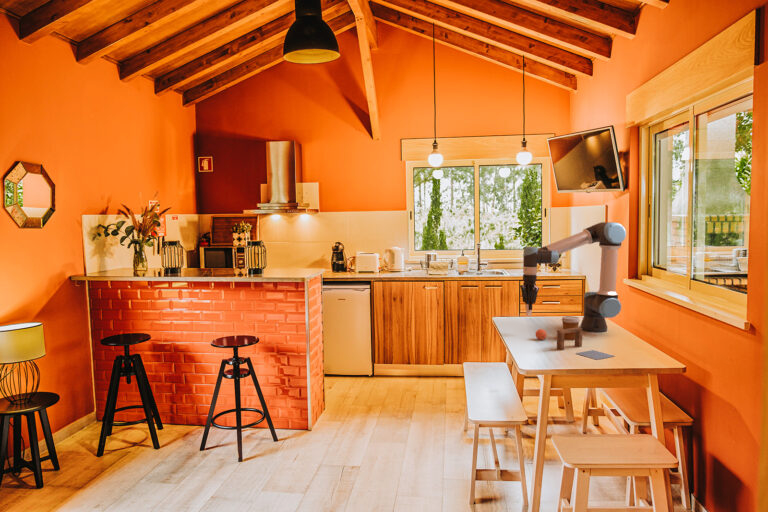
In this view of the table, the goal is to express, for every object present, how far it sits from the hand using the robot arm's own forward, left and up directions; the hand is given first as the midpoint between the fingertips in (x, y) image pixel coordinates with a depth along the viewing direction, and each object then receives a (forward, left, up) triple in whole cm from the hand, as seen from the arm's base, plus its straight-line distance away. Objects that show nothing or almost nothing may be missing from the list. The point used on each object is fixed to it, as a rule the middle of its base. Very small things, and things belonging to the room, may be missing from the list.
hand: (528, 315), depth 294 cm
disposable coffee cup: (-16, +16, -12) cm, 26 cm away
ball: (0, +10, -9) cm, 13 cm away
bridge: (0, +30, -12) cm, 32 cm away
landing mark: (0, +46, -12) cm, 47 cm away
